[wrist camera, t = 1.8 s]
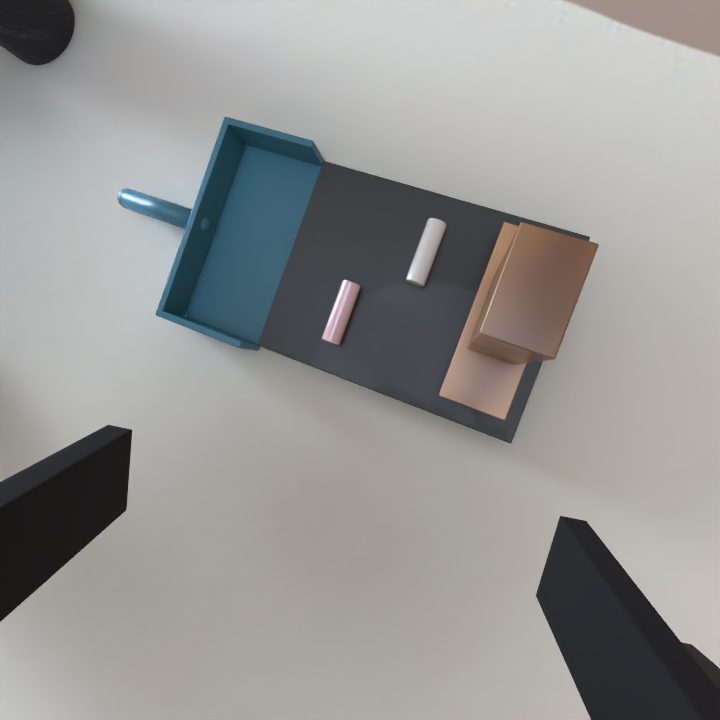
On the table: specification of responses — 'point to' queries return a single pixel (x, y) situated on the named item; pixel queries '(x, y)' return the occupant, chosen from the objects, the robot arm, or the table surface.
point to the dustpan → (235, 231)
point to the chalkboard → (390, 291)
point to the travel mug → (35, 28)
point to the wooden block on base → (517, 314)
